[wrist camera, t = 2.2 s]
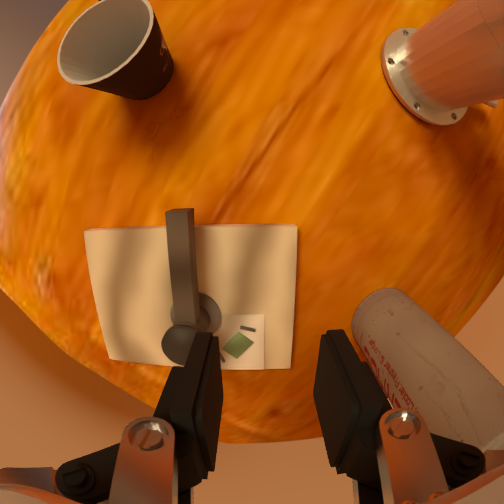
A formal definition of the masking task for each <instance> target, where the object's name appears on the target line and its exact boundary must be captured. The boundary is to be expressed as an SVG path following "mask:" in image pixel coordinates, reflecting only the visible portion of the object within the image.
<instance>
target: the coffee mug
mask: <svg viewBox="0 0 504 504" xmlns="http://www.w3.org/2000/svg"><path fill="white" fill-rule="evenodd" d="M57 65H58V70H59V72H60V74H61V76H62V77H63V78H64V79H65V80H66V81H68V82H70V83H72V84H75V85H80V86H84V87H88V88H92V89H96V90H100V91H104V92H108V93H112V94H115V95H119V96H123V97H126V98H130V99H134V100H142V99H147V98H150V97H152V96H154V95H156V94H157V93H159V92H160V91H161V90H162V89H163V88H164V87H165V86H166V85H167V83H168V82H169V80H170V78H171V76H172V73H173V60H172V58H171V55H170V53H169V50H168V48H167V45H166V42H165V40H164V37H163V35H162V32H161V29H160V27H159V24H158V22H157V19H156V16H155V14H154V11H153V9H152V7H151V5H150V3H149V2H148V1H147V0H99V2H97V3H95V4H94V5H92V6H91V7H89V8H88V9H87V10H85V11H84V12H83V13H82V14H81V15H80V16H79V17H78V18H77V19H76V20H75V21H74V22H73V23H72V24H71V26H70V27H69V29H68V30H67V31H66V33H65V35H64V37H63V39H62V41H61V44H60V46H59V50H58V55H57Z"/></svg>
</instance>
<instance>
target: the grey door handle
mask: <svg viewBox="0 0 504 504" xmlns="http://www.w3.org/2000/svg"><path fill="white" fill-rule="evenodd" d="M165 216H166V232H167V246H168V258H169V269H170V279H171V289H172V297H173V306H174V314H175V322H174V324H173V326H172V327H170V328H169V329H168V330H167V331H166V332H165V334H164V336H163V338H162V341H161V347H162V350H163V352H164V354H165V355H166V357H167V358H168V359H169V360H171V361H172V362H174V363H176V364H178V365H182V366H185V363H186V360H187V357H188V354H189V351H190V348H191V345H192V343H193V340H194V337H195V334H196V332H207V331H208V328H209V324H210V316H209V314H208V312H207V311H206V310H205V309H204V308H203V307H201V306H200V303H199V291H198V278H197V263H196V246H195V227H194V208H184V209H172V210H170V211H167V212H165Z"/></svg>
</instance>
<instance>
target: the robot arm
mask: <svg viewBox="0 0 504 504" xmlns="http://www.w3.org/2000/svg"><path fill="white" fill-rule="evenodd" d="M381 62H382V68H383V71H384V75H385V77H386V80H387V82H388V84H389V86H390V88H391V89H392V91H393V93H394V94H395V96H396V97H397V98H398V100H399V101H400V102H401V103H402V104H403V105H404V106H405V107H406V108H407V110H408V111H410V112H411V113H412V114H413V115H415V116H416V117H417V118H419V119H421V120H423V121H424V122H427V123H429V124H432V125H437V126H445V125H451V124H454V123H456V122H458V121H459V120H461V119H462V117H463V116H464V115H465V113H466V111H467V109H468V106H471V105H476V104H480V103H484V104H486V105H488V106H490V107H493V108H495V107H496V106H497V105H498V100H499V99H504V0H458V1H456V2H455V3H454V4H452V5H451V6H449V7H448V8H447V9H445V10H444V11H443V12H441V13H440V14H438V15H437V16H436V17H434V18H433V19H432V20H430V21H429V22H428V23H427V24H425V25H424V26H423V27H421V28H420V29H417V28H409V27H406V28H400V29H398V30H396V31H394V32H393V33H391V34H390V35H389V36H388V37H387V39H386V40H385V41H384V44H383V46H382V51H381ZM313 394H314V401H315V405H316V409H317V413H318V417H319V421H320V425H321V429H322V434H323V438H324V442H325V446H326V450H327V455H328V459H329V463H330V466H331V467H336V470H337V474H342V473H346V474H347V476H348V477H350V478H352V479H353V481H352V482H353V497H354V504H504V450H486V451H485V452H484V453H482V451H481V450H480V449H478V448H477V447H475V446H473V445H470V444H466V443H462V442H459V441H456V440H452V439H449V438H446V437H442V436H439V435H436V434H433V433H430V432H429V430H428V427H427V425H426V422H425V420H424V419H423V417H422V416H421V415H420V414H419V413H418V412H416V411H414V410H412V409H408V408H395V409H392V407H391V405H390V403H389V401H388V400H387V398H386V396H385V394H384V392H383V390H382V388H381V387H380V385H379V383H378V381H377V379H376V377H375V376H374V374H373V372H372V370H371V368H370V367H369V365H368V364H367V362H361V361H360V359H359V357H358V356H357V354H356V352H355V350H354V348H353V346H352V344H351V343H350V341H349V339H348V337H347V335H346V334H345V332H344V330H343V329H338V330H327V332H326V334H322V336H321V341H320V349H319V356H318V364H317V371H316V377H315V384H314V391H313ZM222 405H223V385H222V374H221V362H220V349H219V338H218V336H213V333H212V332H196V334H195V337H194V340H193V343H192V345H191V348H190V351H189V354H188V357H187V360H186V363H185V366H184V367H183V366H173V367H172V369H171V371H170V374H169V376H168V379H167V381H166V384H165V387H164V389H163V392H162V394H161V397H160V399H159V402H158V405H157V407H156V410H155V413H154V415H153V417H142V418H139V419H136V420H134V421H132V422H130V423H129V424H128V425H127V426H126V427H125V429H124V431H123V434H122V438H121V442H120V443H118V444H115V445H113V446H110V447H108V448H105V449H102V450H100V451H97V452H94V453H91V454H89V455H86V456H83V457H80V458H77V459H74V460H71V461H68V462H66V463H64V464H62V465H61V466H60V467H59V468H58V470H54V469H53V468H52V467H40V468H10V467H9V468H8V467H7V468H2V469H0V504H194V491H193V487H194V486H196V485H197V484H199V483H201V482H202V479H207V477H208V471H214V469H215V461H216V453H217V445H218V437H219V429H220V421H221V413H222Z"/></svg>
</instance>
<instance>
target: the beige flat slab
mask: <svg viewBox="0 0 504 504" xmlns="http://www.w3.org/2000/svg"><path fill="white" fill-rule="evenodd" d="M194 227H195V246H196V263H197V278H198V291H199V303H200V306H201V307H203V308H204V309H205V310H206V311H207V312H208V314H209V316H210V324H209V328H208V331H207V332H212V333H213V336H218V338H219V349H220V362H221V369H234V370H264V369H286V368H290V366H291V353H292V339H293V323H294V306H295V286H296V262H297V228H298V227H297V225H296V224H215V225H194ZM84 238H85V246H86V253H87V260H88V266H89V272H90V278H91V284H92V289H93V294H94V299H95V304H96V308H97V313H98V317H99V321H100V325H101V329H102V333H103V337H104V341H105V344H106V348H107V351H108V355H109V358H110V359H114V360H121V361H128V362H136V363H145V364H154V365H165V366H182V365H178V364H176V363H174V362H172V361H171V360H169V359H168V358H167V357H166V355H165V354H164V352H163V350H162V347H161V341H162V338H163V336H164V334H165V332H166V331H167V330H168V329H169V328H170V327H172V326H173V324H174V322H175V314H174V306H173V297H172V289H171V279H170V269H169V258H168V246H167V232H166V226H140V227H115V228H94V229H88V230H86V231H84ZM183 367H184V366H183Z"/></svg>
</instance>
